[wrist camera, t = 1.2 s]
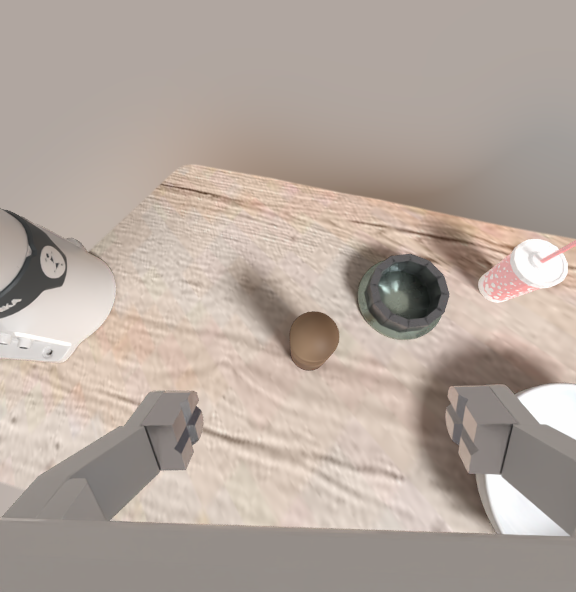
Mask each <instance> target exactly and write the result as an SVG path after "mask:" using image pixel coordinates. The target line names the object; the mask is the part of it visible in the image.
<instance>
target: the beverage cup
mask: <svg viewBox="0 0 576 592" xmlns="http://www.w3.org/2000/svg"><path fill="white" fill-rule="evenodd" d="M574 246H576V240H575V241H574V242H572V243H570V244H568V245H566V246H565V247H563V248H561V249H558V248H557V247H556V246H554V245H553V244H551V243H549V242H548V241H544V240H540V239H530V240H526V241H524V242H522V243H521V244H519V245H518V246H517V247H515V249H514V250H513V252H512V253H511V254H509V255H508V256H507V257H506V258H504V259H503V260H502V261H500V262H499V263H498V264H497V265H495V266H494V267H493V268H492V269H490V270H489V271H488V272H486V273H485V274H484V275H483V276H482V277H481V278H480V279H479V283H478V287H479V291H480V293H481V294H482V295H483V297H485V298H486V299H488V300H489V301H492V302H503V301H506V300H509V299H512V298H515V297H517V296H520V295H523V294H526V293H529V292H532V291H534V290H537V289H540V288H549V287H551V286H555V285H557V284H558V283H560V282H562V281H563V280H564V278H565V277H566V275H567V273H568V263H567V261H566V258H565V256H564V254H563V252H565V251H567V250H569V249H570V248H572V247H574Z"/></svg>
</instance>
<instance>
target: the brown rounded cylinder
mask: <svg viewBox="0 0 576 592" xmlns="http://www.w3.org/2000/svg"><path fill="white" fill-rule="evenodd" d="M338 343H339V331H338V328H337V325H336V324H335V322H334V321H333V320H332V319H331V318H330V317H329V316H327V315H326V314H324V313H321V312H307V313H304V314H302V315H301V316H299V317H298V318H297V319H296V320H295V321H294V322H293V324H292V326H291V329H290V350H291V357H292V360H293V362H294V363H295V364H296V365H297V366H298V367H299V368H301V369H303V370H315V369H317V368H319V367H320V366H322V365H323V363H324V362H325V361H326V360H327V359H328V358H329V357H330V356H331V355H332V353H333V352H334V351H335V350H336V348H337V346H338Z"/></svg>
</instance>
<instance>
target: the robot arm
mask: <svg viewBox="0 0 576 592" xmlns="http://www.w3.org/2000/svg"><path fill="white" fill-rule="evenodd" d="M115 296H116V283H115V278H114V275H113V273H112V271H111V269H110V268H109V267H108V265H107V264H106V263H105V262H104V261H102V260H101V259H99V258H98V257H96V256H94V255H92V254H90V253H88V252H87V251H86V249H85V248H84V246H83V245H82V244H81V243H80V242H79V241H77V240H76V239H74V238H67V239H64V238H62V237H61V236H59V235H57V234H55V233H53V232H52V231H50V230H48V229H46V228H44V227H42V226H40V225H38V224H33V223H32V222H30V221H29V220H27V219H25V218H24V217H20V216H19V215H17V214H15V213H13V212H11V211H8V210H3V209H1V208H0V358H1V359H14V360H27V361H40V362H52V363H62V362H64V361H66V360H67V359H68V358H69V357H70V356H71V355H72V353H73V352H74V350H75V349H76V347H77V346H78V345H79V344H80V343H81V342H82V341H83V340H84V339H85V338H87V337H88V336H90V335H91V334H92V333H93V332H95V331H96V330H97V329H98V328H99V327H100V326H101V325H102V324H103V322H104V321H105V320H106V318H107V317H108V315H109V313H110V311H111V309H112V307H113V304H114V301H115ZM51 351H53V352H52V354H51V355H50V352H51ZM447 397H448V399H449V400H450V402H451V404H450V405H449V406H448V407H447V408H446V414H445V419H446V426H447V430H448V433H449V435H450V437H451V439H452V441H454V442H455V443H456V444H458V445H459V451H458V454H459V456H460V458H461V460H462V462H463V464H464V466H465V468H466V470H467V472H468V473H469V474H494V475H501V477H502V478H504V479H505V480H506V481H507V482H508V483H509V484H511V485H512V486H513V487H514V488H515V489H516V490H518V491H519V492H520V493H521V494H522V495H523V496H525V497H526V498H527V499H528V500H529V501H530V502H532V503H533V504H534V505H535V506H536V507H537V508H539V509H540V510H541V511H542V512H543V513H544V514H545V515H547V516H548V517H549V518H550V519H551V520H552V521H554V522H555V523H556V524H557V525H558V526H559V527H561V528H562V529H563V530H564V531H565V532H566V533H568V534H569V535H570V536H544V535H514V534H485V533H455V532H424V531H394V530H363V529H333V528H304V527H274V526H244V525H214V524H184V523H154V522H124V521H110V520H111V519H112V518H113V517H114V516H115V515H116V514H117V513H118V512H119V511H120V510H121V509H122V508H123V507H124V506H125V505H126V504H127V503H128V502H129V501H130V500H131V499H133V498H134V497H135V496H136V495H137V494H138V493H139V492H140V491H141V490H142V489H143V488H144V487H145V486H146V485H147V484H148V483H149V482H150V481H151V480H152V479H153V478H154V477H155V476H156V475H157V474H158V473H159V472H160V470H186V469H187V466H188V464H189V462H190V459H191V457H192V455H193V453H194V450H193V447H192V445H194V444H195V443H196V442H197V441H198V440H199V439H200V436H201V434H202V429H203V414H202V411H201V410H200V409H199V408H198V407H197V406H196V405H197V403H198V401H199V399H198V395H197V392H195V391H151V392H149V393H148V394H147V396H146V397H145V398H144V400H143V401H142V403H141V404H140V405H139V407H138V408H137V409H136V411H135V412H134V413H133V415H132V416H131V417H130V419H129V420H128V421H127V423H126V424H125V425H124V426H119V427H117V428H116V429H114V430H113V431H111V432H109V433H108V434H106V435H104V436H103V437H101V438H100V439H98V440H96V441H95V442H93V443H92V444H90V445H88V446H87V447H85V448H83V449H82V450H80V451H79V452H77V453H75V454H74V455H72V456H70V457H69V458H67V459H66V460H64V461H62V462H61V463H59V464H57V465H56V466H54V467H53V468H51V469H49V470H48V471H46V472H44V473H43V474H41V475H40V476H38V477H37V478H36V479H35V480H34V482H33V483H32V484H31V485H30V486H29V487H28V488H27V489H26V490H25V492H24V493H23V494H22V495H21V496H20V497H19V498H18V499H17V500H16V502H15V503H14V504H13V505H12V506H11V507H10V508H9V510H7V512H6V513H5V514H4V515H3V516H2V517H0V592H576V440H575V439H573V438H571V437H570V436H568V435H566V434H564V433H562V432H560V431H558V430H556V429H554V428H552V427H551V426H549V425H547V424H540V423H539V422H538V421H537V420H536V419H535V417H534V416H533V415H532V414H531V413H530V412H529V410H528V409H527V408H526V407H525V406H524V405H523V404H522V402H521V401H520V400H519V399H518V398H517V397H516V396H515V394H514V393H513V392H512V391H511V390H510V389H509V388H508V386H506V385H504V384H493V385H475V386H450V388H449V390H448V396H447Z"/></svg>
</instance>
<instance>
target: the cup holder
mask: <svg viewBox="0 0 576 592" xmlns="http://www.w3.org/2000/svg"><path fill="white" fill-rule="evenodd" d="M448 298H449V291H448V288H447V284H446V281H445V277H444V276H443V274H442V273H441V272H440V271H439V270H438V269H437V268H436V267H435V266H434V265H433V264H432V263H431V262H430V261H429V260H426V259H423V258H420V257H418V256H415V255H412V254H405V255H396V256H391V257H389V258H388V259H386V260H385V261H382V262H379V263H377V264H376V265H374V266H372V267H371V268H370V269H369V270H368V271H367V272H366V273H365V275H364V276H363V278H362V280H361V282H360V285H359V288H358V304H359V308H360V311H361V313H362V315H363V317H364V319H365V320H366V321H367V323H368V324H369V325H370V326H371V327H372V328H373V329H375V330H376V331H377V332H379V333H380V334H382V335H384V336H386V337H389V338H393V339H397V340H410V339H415V338H418V337H421V336H423V335H425V334H427V333H428V332H429V331H431V330H432V329H433V328H434V327H435V326H436V325H437V323H438V322H439V320H440V318H441V315H442V314H443V313H444V312H445V308H446V305H447V301H448Z"/></svg>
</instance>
